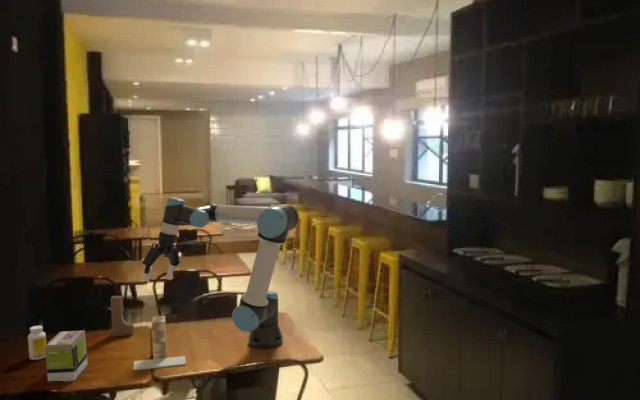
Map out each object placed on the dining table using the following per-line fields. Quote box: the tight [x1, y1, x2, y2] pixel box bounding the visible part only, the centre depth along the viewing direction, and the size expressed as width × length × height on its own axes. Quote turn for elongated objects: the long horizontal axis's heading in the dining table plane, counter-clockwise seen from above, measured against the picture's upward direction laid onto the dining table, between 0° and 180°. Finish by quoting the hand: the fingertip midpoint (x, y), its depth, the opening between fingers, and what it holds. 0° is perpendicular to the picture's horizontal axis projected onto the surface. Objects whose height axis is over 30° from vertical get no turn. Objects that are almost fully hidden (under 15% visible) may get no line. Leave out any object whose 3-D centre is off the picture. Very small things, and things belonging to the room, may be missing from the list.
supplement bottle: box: [27, 325, 47, 361], centre depth 227 cm, size 7×7×13 cm
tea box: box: [45, 329, 89, 383], centre depth 211 cm, size 15×10×15 cm, turn 5°
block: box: [151, 315, 167, 359], centre depth 227 cm, size 5×8×16 cm, turn 15°
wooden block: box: [110, 295, 135, 337], centre depth 253 cm, size 9×4×18 cm, turn 102°
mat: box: [132, 355, 187, 371], centre depth 220 cm, size 20×8×1 cm, turn 105°
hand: (157, 280), depth 239 cm, fingers open, 13 cm apart
